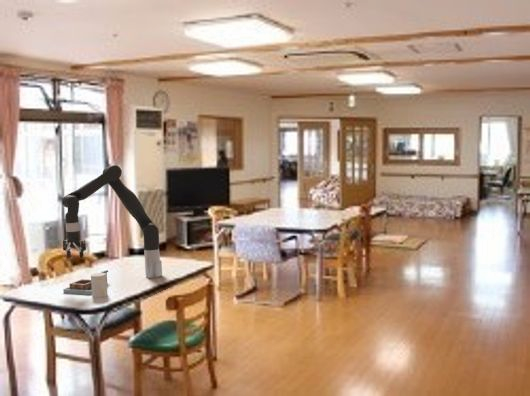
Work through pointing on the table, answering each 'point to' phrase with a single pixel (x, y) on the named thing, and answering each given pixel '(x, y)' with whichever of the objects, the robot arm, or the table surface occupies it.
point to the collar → (81, 285)
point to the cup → (99, 285)
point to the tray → (78, 291)
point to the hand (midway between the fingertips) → (75, 257)
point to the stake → (105, 272)
